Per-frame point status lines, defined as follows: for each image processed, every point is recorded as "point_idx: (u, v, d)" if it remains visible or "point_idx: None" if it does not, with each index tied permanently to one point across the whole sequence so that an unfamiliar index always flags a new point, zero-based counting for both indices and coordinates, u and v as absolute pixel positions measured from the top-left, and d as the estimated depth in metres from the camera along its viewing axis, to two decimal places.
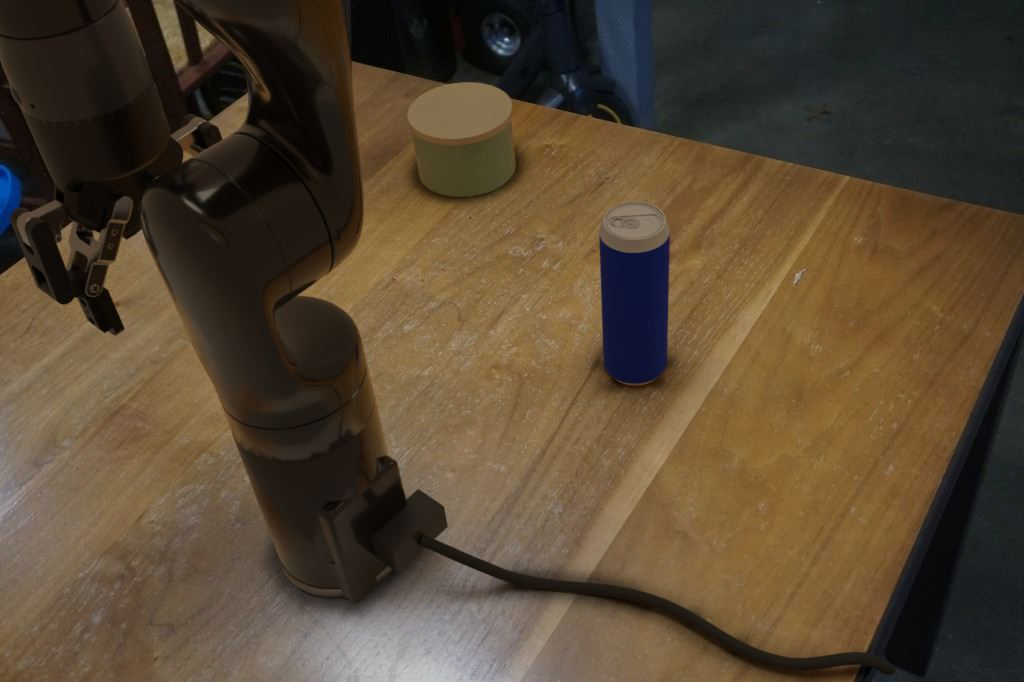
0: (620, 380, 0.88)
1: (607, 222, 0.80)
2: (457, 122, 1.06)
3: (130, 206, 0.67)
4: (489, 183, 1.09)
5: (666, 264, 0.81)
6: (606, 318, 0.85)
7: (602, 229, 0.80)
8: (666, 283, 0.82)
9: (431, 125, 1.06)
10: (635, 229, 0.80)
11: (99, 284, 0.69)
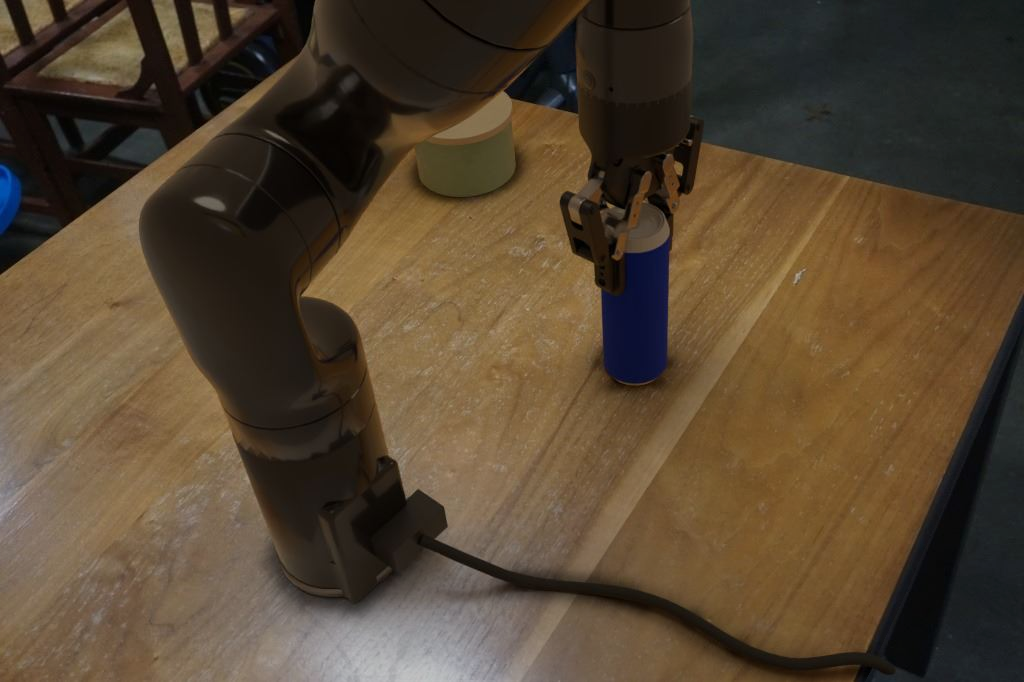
0: (620, 380, 0.88)
1: None
2: None
3: (649, 178, 0.75)
4: (489, 183, 1.09)
5: (666, 264, 0.81)
6: (606, 318, 0.85)
7: None
8: (665, 283, 0.82)
9: None
10: (635, 229, 0.80)
11: (623, 249, 0.78)
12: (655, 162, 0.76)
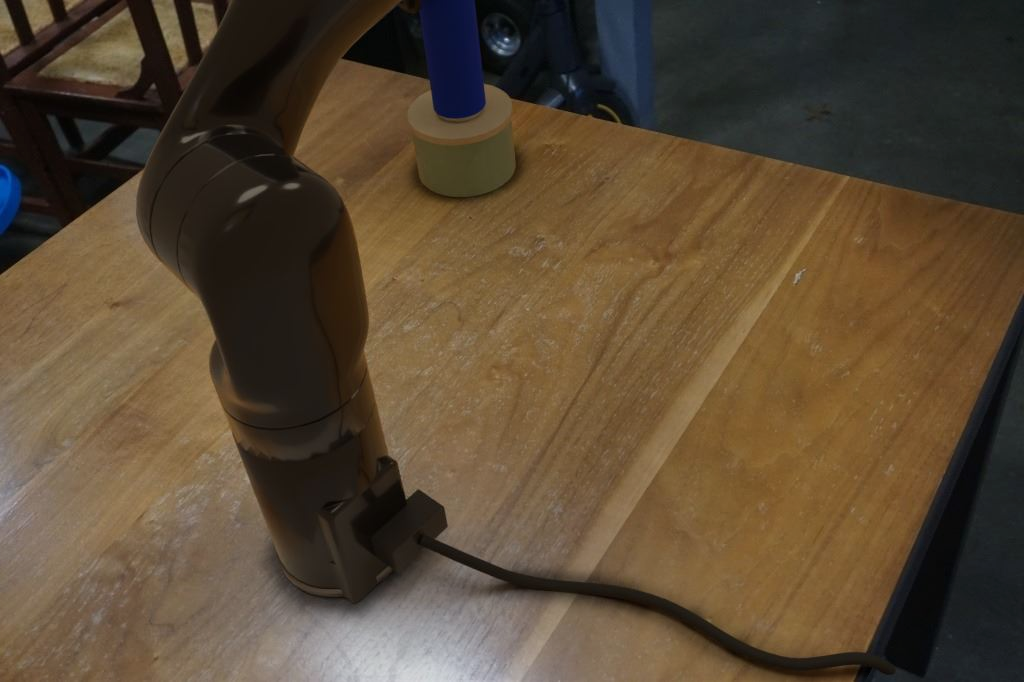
0: (444, 116, 1.06)
1: None
2: (457, 122, 1.06)
3: None
4: (489, 183, 1.09)
5: (470, 3, 0.99)
6: (427, 56, 1.03)
7: None
8: (472, 22, 1.00)
9: (431, 125, 1.06)
10: None
11: None
12: None
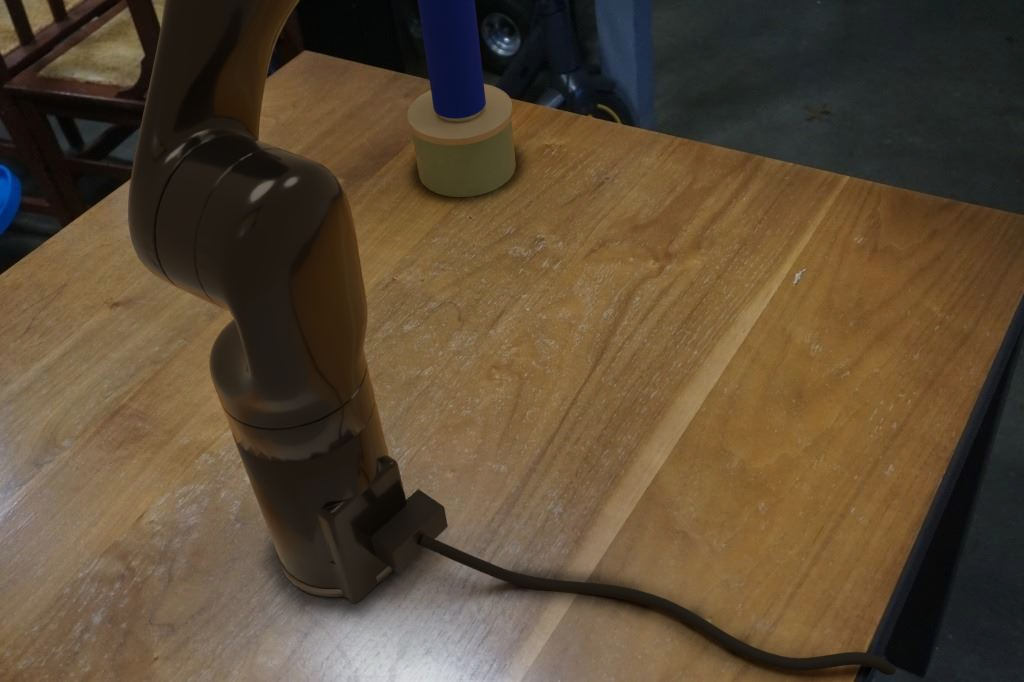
0: (444, 116, 1.06)
1: None
2: (457, 122, 1.06)
3: None
4: (489, 183, 1.09)
5: (470, 3, 0.99)
6: (427, 56, 1.03)
7: None
8: (472, 22, 1.00)
9: (431, 125, 1.06)
10: None
11: None
12: None
